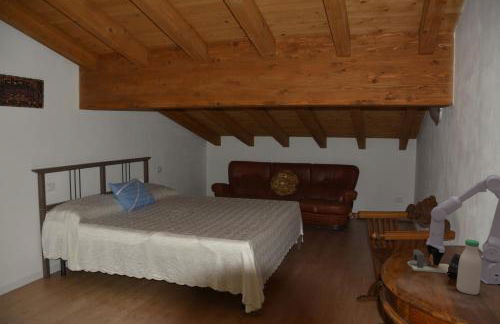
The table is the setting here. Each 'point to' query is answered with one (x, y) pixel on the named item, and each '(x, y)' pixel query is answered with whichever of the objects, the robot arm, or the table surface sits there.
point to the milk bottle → (469, 269)
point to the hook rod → (425, 262)
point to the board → (431, 268)
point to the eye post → (418, 258)
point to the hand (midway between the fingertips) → (434, 263)
